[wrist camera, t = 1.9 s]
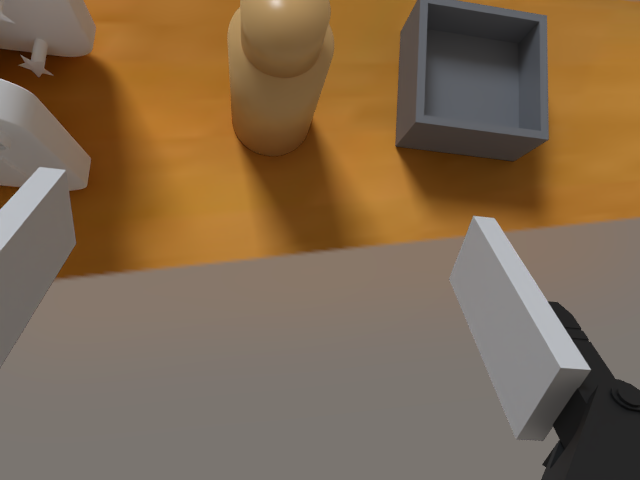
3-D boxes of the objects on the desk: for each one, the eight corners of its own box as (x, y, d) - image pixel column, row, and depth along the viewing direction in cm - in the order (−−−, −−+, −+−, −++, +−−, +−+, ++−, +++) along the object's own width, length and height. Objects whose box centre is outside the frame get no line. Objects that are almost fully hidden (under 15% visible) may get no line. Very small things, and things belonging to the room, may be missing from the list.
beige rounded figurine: (228, 150, 31) (219, 52, 20) (236, 77, 32) (232, -56, 21) (306, 160, 32) (340, 70, 21) (312, 88, 33) (347, -35, 22)
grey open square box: (395, 146, 33) (415, 122, 29) (400, 31, 35) (420, -6, 31) (514, 161, 34) (548, 139, 30) (513, 49, 36) (546, 15, 32)
